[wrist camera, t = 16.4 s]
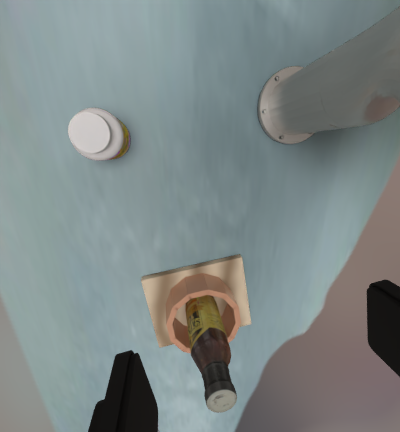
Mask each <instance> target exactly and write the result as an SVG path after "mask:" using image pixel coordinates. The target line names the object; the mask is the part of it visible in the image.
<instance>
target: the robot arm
mask: <svg viewBox="0 0 400 432" xmlns="http://www.w3.org/2000/svg"><path fill="white" fill-rule="evenodd" d="M275 79H276V81H275ZM399 106H400V6H399V7H398V8H397V9H395V10H394V11H393V12H391V13H390V14H389V15H387V16H386V17H385V18H383V19H382V20H381V21H379V22H378V23H376V24H375V25H373V26H372V27H370V28H369V29H367V30H366V31H364V32H362V33H361V34H359V35H358V36H356V37H354V38H353V39H351V40H349V41H348V42H346V43H344V44H343V45H341V46H339V47H338V48H336V49H334V50H333V51H331V52H329V53H328V54H326V55H324V56H323V57H321V58H319V59H317V60H316V61H314V62H312V63H311V64H309V65H307V66H306V67H300V66H291V67H287V68H284V69H282V70H280V71H278V72H277V73H275V74H274V75H273V76H272V77H271V78H270V79H269V80H268V81H267V82H266V84H265V85H264V87H263V89H262V91H261V93H260V97H259V100H258V117H259V121H260V124H261V126H262V128H263V130H264V131H265V132H266V134H267V135H268V136H269V137H270V138H272V139H273V140H275V141H277V142H280V143H284V144H295V143H299V142H302V141H304V140H306V139H308V138H309V137H311V136H312V135H313V134H314V133H315V132H319V131H327V130H335V129H343V128H351V127H358V126H365V125H369V124H372V123H375V122H378V121H380V120H382V119H383V118H385V117H387V116H388V115H390V114H391V113H393V112H394V111H395V110H396V109H397V108H398V107H399ZM262 111H263V113H262ZM279 136H280V139H279ZM367 325H368V343H369V345H370V347H371V349H372V350H373V351H374V352H375V353H376V354H377V355H378V356H379V357H380V358H381V359H382V360H383V361H384V362H385V363H386V364H387V365H388V366H389V367H390V368H391V369H392V370H393V371H394V372H396V374H398V376H400V287H399V286H397V285H395V284H394V283H392V282H390V281H388V280H382V281H378V282H375V283H371V284H370V286H369V288H368V289H367ZM88 432H158V407H157V403H156V400H155V397H154V394H153V392H152V389H151V386H150V384H149V381H148V378H147V375H146V373H145V370H144V367H143V364H142V362H141V359H140V356H139V354H138V353H135V354H134V353H133V351H132V350H130V351H127V352H123V353H120V354H117V355H116V356H115V359H114V363H113V367H112V371H111V375H110V380H109V384H108V388H107V392H106V396H105V399H104V400H101V401H99V402H98V403H97V404H96V406H95V409H94V412H93V416H92V419H91V423H90V427H89V430H88Z"/></svg>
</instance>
